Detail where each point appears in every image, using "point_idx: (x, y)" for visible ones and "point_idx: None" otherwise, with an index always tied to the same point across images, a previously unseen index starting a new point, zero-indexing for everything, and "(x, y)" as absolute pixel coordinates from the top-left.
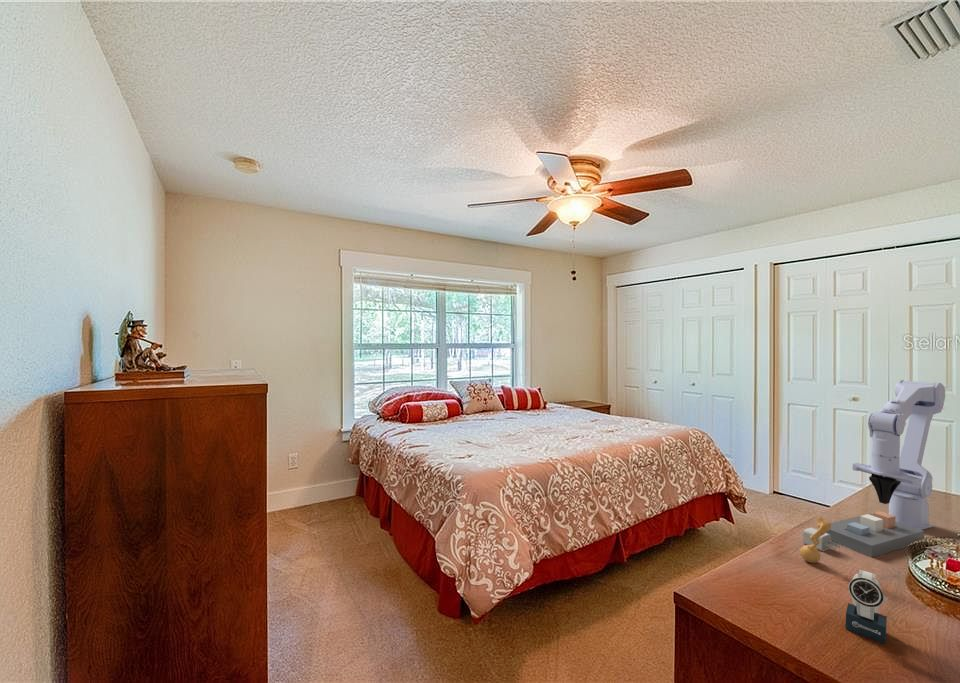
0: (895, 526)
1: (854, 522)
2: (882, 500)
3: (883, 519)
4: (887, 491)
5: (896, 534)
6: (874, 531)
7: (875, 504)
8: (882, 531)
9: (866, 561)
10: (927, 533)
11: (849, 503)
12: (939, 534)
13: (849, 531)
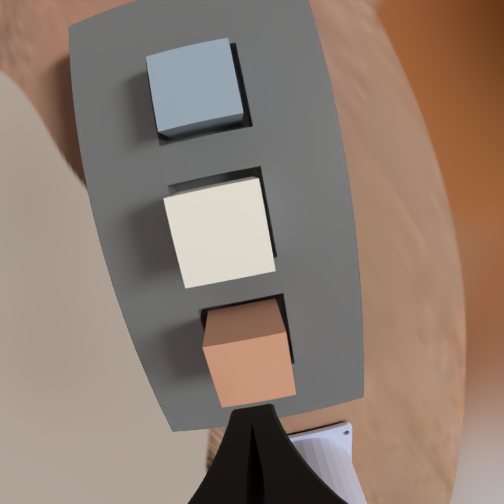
0: None
1: (239, 106)
2: (248, 421)
3: (229, 332)
4: (190, 500)
5: (137, 280)
6: (180, 191)
7: (416, 473)
8: None
9: (78, 6)
10: None
11: (456, 422)
12: None
13: None
